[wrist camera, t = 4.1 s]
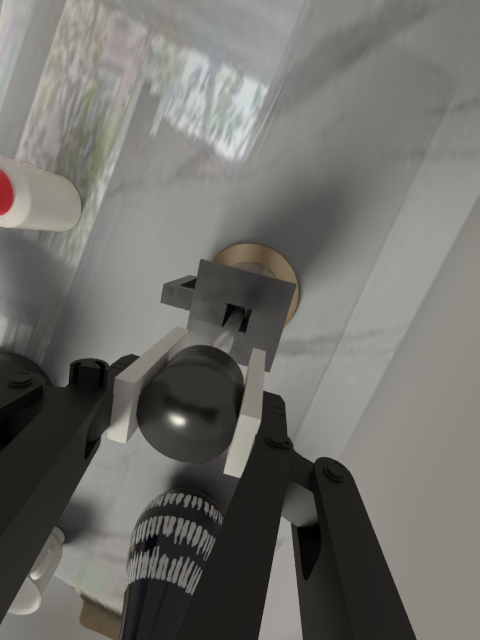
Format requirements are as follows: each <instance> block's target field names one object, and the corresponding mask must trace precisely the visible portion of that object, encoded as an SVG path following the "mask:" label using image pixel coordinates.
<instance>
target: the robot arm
mask: <svg viewBox="0 0 480 640" xmlns="http://www.w3.org/2000/svg"><path fill="white" fill-rule="evenodd" d="M188 332H189V330H187V329H184V328H180V327H176V328H174V329H173V330H172V331H171V332H170V333H168V334H167V335H166V336H165V337H164V338H162V339H161V340H160V341H159V342H158V343H156V344H155V345H154V346H153V347H151V348H150V349H149V350H148V351H147V352H145V353H144V354H143V355H142V356H141V357H140V356H136V355H133V354H130V355H127V356H123V357H121V358H120V359H118V360H117V361H116V362H115V363H113V364H111V365H110V367H109V365H108V363H106V362H105V361H103V360H99V359H92V358H87V359H80V360H76V361H74V362H72V363H71V364H70V373H69V384H68V385H67V386H66V387H53V386H52V385H51V383H50V381H49V379H48V378H47V376H46V375H45V374H44V372H43V371H42V370H41V369H40V368H39V367H38V366H37V365H36V364H34V363H33V362H32V361H30V360H29V359H27V358H25V357H23V356H21V355H18V354H15V353H10V352H0V624H1V622H2V620H3V619H4V617H5V615H6V613H7V611H8V610H9V608H10V606H11V604H12V602H13V601H14V599H15V597H16V595H17V593H18V592H19V590H20V588H21V586H22V584H23V583H24V581H25V579H26V577H27V575H28V574H29V572H30V570H31V568H32V566H33V565H34V563H35V561H36V559H37V557H38V556H39V554H40V552H41V550H42V548H43V547H44V545H45V543H46V541H47V539H48V538H49V536H50V534H51V532H52V530H53V529H54V527H55V525H56V523H57V521H58V520H59V518H60V516H61V514H62V512H63V511H64V509H65V507H66V505H67V503H68V502H69V500H70V498H71V496H72V494H73V493H74V491H75V489H76V487H77V485H78V484H79V482H80V480H81V478H82V476H83V475H84V473H85V471H86V469H87V467H88V466H89V464H90V462H91V460H92V458H93V457H94V455H95V453H96V451H97V449H98V448H99V446H100V442H101V435H102V434H103V432H104V431H105V430H106V429H107V428H108V427H109V429H108V436H107V438H108V439H111V440H115V441H118V442H121V443H125V444H126V443H127V441H128V440H129V439H130V437H131V436H132V435H133V433H134V432H135V430H136V429H137V428H138V426H139V425H138V422H137V417H136V412H137V406H138V399H139V396H140V394H141V393H142V391H143V390H144V388H145V387H146V386H147V385H148V384H149V383H150V382H151V380H152V379H153V378H154V377H155V376H156V375H157V374H158V373H159V372H160V371H161V369H162V368H163V367H164V366H165V365H166V364H167V363H168V362H169V361H170V360H171V358H172V357H173V356H174V355H175V354H176V353H178V352H179V351H180V350H182V349H184V348H185V346H186V341H187V337H188ZM265 355H266V351H263V350H259V349H256V348H253V351H252V354H251V358H250V361H249V365H248V368H247V372H246V375H245V379H244V390H243V395H242V400H241V405H240V410H239V415H238V419H237V424H236V429H235V432H234V436H233V439H232V442H231V444H230V445H229V450H228V455H227V459H226V464H225V468H224V474H228V475H231V476H234V477H238V478H240V480H239V483H238V485H237V488H236V490H235V493H234V495H233V498H232V500H231V503H230V505H229V507H228V510H227V512H226V515H225V517H224V520H223V522H222V525H221V527H220V530H219V532H218V535H217V537H216V539H215V542H214V544H213V547H212V549H211V552H210V554H209V557H208V559H207V562H206V564H205V567H204V569H203V571H202V574H201V576H200V579H199V581H198V584H197V586H196V589H195V591H194V594H193V596H192V599H191V601H190V603H189V606H188V608H187V611H186V613H185V616H184V618H183V621H182V623H181V626H180V628H179V631H178V633H177V635H176V638H175V640H258V637H259V631H260V626H261V621H262V615H263V610H264V605H265V599H266V594H267V589H268V583H269V578H270V572H271V566H272V562H273V556H274V551H275V546H276V540H277V535H278V529H279V524H280V519H281V516H282V517H284V518H285V519H287V520H288V521H290V522H291V529H292V538H293V548H294V558H295V567H296V576H297V586H298V596H299V606H300V615H301V625H302V635H303V640H417V639H416V636H415V634H414V631H413V630H412V626H411V624H410V621H409V619H408V616H407V614H406V611H405V608H404V606H403V603H402V601H401V598H400V596H399V593H398V591H397V588H396V585H395V583H394V580H393V578H392V575H391V573H390V571H389V568H388V565H387V562H386V560H385V558H384V555H383V552H382V550H381V547H380V545H379V542H378V540H377V537H376V534H375V532H374V530H373V527H372V524H371V522H370V519H369V517H368V514H367V511H366V509H365V506H364V504H363V501H362V499H361V496H360V494H359V491H358V488H357V486H356V484H355V481H354V479H353V477H352V475H351V473H350V471H349V470H347V468H346V467H345V466H344V465H342V464H341V463H339V462H338V461H336V460H334V459H331V458H328V457H321V458H317V460H316V461H315V463H313V462H311V461H309V460H307V459H306V458H304V457H302V456H301V455H299V454H298V453H297V452H296V451H295V450H294V449H293V443H292V442H291V440H290V438H289V437H288V436H287V423H286V411H285V402H284V401H283V399H282V398H281V396H280V395H276V394H273V393H269V392H266V391H263V386H264V370H265Z"/></svg>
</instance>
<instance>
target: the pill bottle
mask: <svg viewBox="0 0 480 640" xmlns="http://www.w3.org/2000/svg"><path fill="white" fill-rule="evenodd" d="M80 216H81V200H80V196H79V194H78V192H77V190H76V188H75V187H74V185H73V184H72V183H71V182H70V181H69V180H68V179H66V178H64V177H63V176H60V175H58V174H55V173H52V172H49V171H46V170H43V169H40V168H37V167H34V166H31V165H28V164H25V163H22V162H19V161H16V160H13V159H10V158H7V157H4V156H1V155H0V227H5V228H15V229H29V230H43V231H56V232H63V231H68V230H70V229H72V228H73V227H74V226H75V225H76V224H77V222H78V221H79V219H80Z"/></svg>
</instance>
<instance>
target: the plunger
mask: <svg viewBox="0 0 480 640" xmlns="http://www.w3.org/2000/svg"><path fill="white" fill-rule="evenodd" d="M251 311H252V310H251V309H248V308H244V307H240V306H237V305H233V304H229V303H228V305H227V309H226V313H225V317H224V321H223V325H225V326H224V327H223V329H222V331H221V332H220V334H219V336H218V337H217V339H216V341H215V342H214V344H213V346H208V345H194V346H189V347H186V348H184V349H182V350H180V351H179V352H178V353H176V354H175V355H174V356H173V357H172V358H171V360H170V361H169V362H168V363H167V364H166V365H165V366H164V367H163V368H162V369H161V371H160V372H159V373H158V374H157V375H156V376H155V377H154V378H153V379H152V380H151V382H150V383H149V384H148V385H147V386H146V387H145V388H144V390H143V391H142V393H141V394H140V396H139V399H138V406H137V412H136V417H137V422H138V425H139V428H140V430H141V432H142V434H143V436H144V437H145V439H146V440H147V441H148V442H149V444H150V445H151V446H152V447H154V448H155V449H156V450H157V451H159V452H160V453H162V454H163V455H165V456H167V457H169V458H171V459H174V460H177V461H182V462H188V463H197V462H204V461H208V460H211V459H213V458H215V457H217V456H219V455H220V454H222V453H223V452H224V451H225V450H226V449H227V448H228V446H229V445H230V444H231V442H232V439H233V436H234V432H235V429H236V424H237V419H238V415H239V410H240V405H241V400H242V395H243V390H244V379H243V375H242V372H241V370H240V368H239V366H238V364H237V363H236V362H235V360H234V359H233V358H232V357H231V356H230V355H229V352H230V350H231V347H232V345H233V342H234V340H235V337H236V335H237V333H238V330H239V329H240V330H243V331H246V330H247V326H248V322H249V319H250V315H251Z"/></svg>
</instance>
